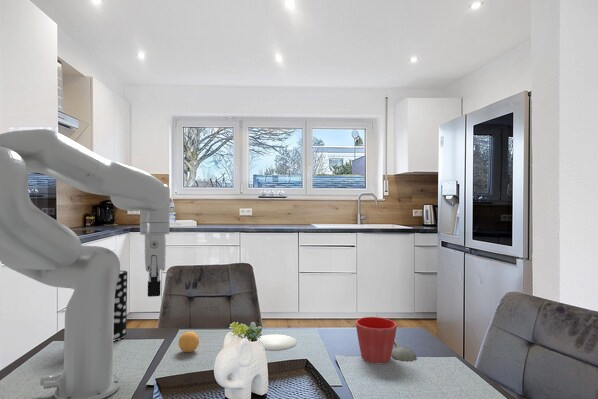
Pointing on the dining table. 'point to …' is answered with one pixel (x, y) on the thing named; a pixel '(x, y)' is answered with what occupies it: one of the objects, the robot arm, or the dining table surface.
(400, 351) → the soupspoon
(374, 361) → the flower pot
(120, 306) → the white-spotted black cylinder
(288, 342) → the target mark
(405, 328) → the dining table surface
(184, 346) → the ball
